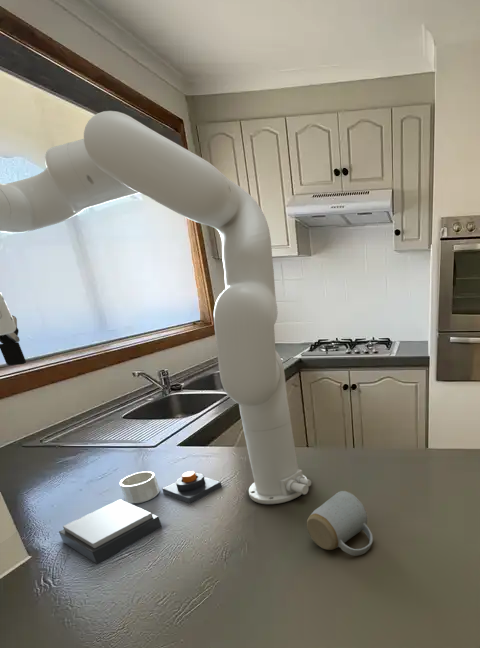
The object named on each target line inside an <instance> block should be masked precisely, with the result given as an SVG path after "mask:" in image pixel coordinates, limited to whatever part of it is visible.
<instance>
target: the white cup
mask: <svg viewBox="0 0 480 648" xmlns="http://www.w3.org/2000/svg"><path fill="white" fill-rule="evenodd" d="M119 486H120V490H121V492H122V495H123V498H124V501H126V502H128V503H130V504H141V503H142V504H143V503H145V502H148V501H150V500H152V499H154V498H155V497H157V495H158V494H159V493H160V491H161V490H160V487H159V484H158V481H157V477H156V474H155V472H153V471H149V470H148V471H146V470H145V471H139V472H135V473H131V474H129V475H127V476H125V477H124V478H122V479H121V480H120V481H119Z"/></svg>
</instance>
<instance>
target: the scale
mask: <svg viewBox="0 0 480 648" xmlns="http://www.w3.org/2000/svg"><path fill="white" fill-rule="evenodd" d="M62 528H63V529H61V530H59V531H58V534H59V535H60V538H61V540H62V542H63V544H65V545H66V546H68V547H70V548H72V549H73V550H74V551H76V552H78V553H79V554H81V555H83V556H84V557H85V558H87V559H89V560H90V561H92V562H93V563H94V564H96V565H97V564H100V563H102V562H103V561H105V560H107V559H108V558H110V557H112V556H114V555H116V554H117V553H119V552H121V551H123V550H124V549H126V548H128V547H129V546H132V545H133V544H135V543H137V542H139V541H140V540H142V539H144V538H146V537H147V536H149V535H151V534H153V533H154V532H156V531H158V530H159V529H161V528H162V523H161V520H160V516H158V515H156V514H153V513H152V512H150V511H148V510H146V509H143V508H142V507H139V506H137V505H135V504H133V503H128V502H126V501H125V500H123V499H121V498H119V499H117V500H115V501H113V502H110V503H109V504H107V505H104V506H102V507H100V508H97V509H96V510H93V511H92V512H90V513H88V514H85V515H83V516H81V517H78V518H77V519H75V520H73V521H70V522H67V524H64V525H62Z"/></svg>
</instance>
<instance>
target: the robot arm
mask: <svg viewBox="0 0 480 648" xmlns="http://www.w3.org/2000/svg"><path fill="white" fill-rule="evenodd" d="M44 161H45V166H46V168H45V169H44V170H43V171H42V172H40V173H38V174H36V175H33V176H31V177H26V178H23V179H20V180H16V181H12V182H7V183H2V182H0V232H1V233H7V234H8V233H9V234H22V233H27V232H32V231H36V230H41V229H44V228H46V227H51V226H54V225H57V224H60V223H62V222H65V221H68V220H69V219H72V218H73V217H76V216H77V215H79V214H81V213H82V212H83V211H85V210H87V209H89V208H93V207H96V206H101V205H104V204H106V203H109V202H110V203H111V202H114V201H117V200H120V199H124V198H128V197H132V196H135V195H138V194H141V195H143V196H145V198H149V199H150V200H152V201H153V202H156V203H157V204H159V205H161V206H163V207H166V208H168V209H169V210H171V211H173V212H175V213H177V214H179V215H180V216H182V217H184V218H186V219H187V220H190V221H193V222H195V223H198V224H201V225H205V226H209V227H211V228H214V229H215V230H216V231H218V233H219V235H220V239H221V256H222V265H223V273H224V274H223V275H224V287H225V288H224V289H223V291H222V292H221V293H219V295H218V297H217V299H216V301H215V304H214V309H213V327H214V335H215V336H214V337H215V345H216V353H217V354H216V355H217V362H218V364H217V365H218V371H219V378H220V382H221V383H220V384H221V386H222V388H223V391H224V392H225V393H226V395H227V396H228V397H229V398H230V400H232V401H233V402H235V403H236V404H238V408H239V414H240V420H241V425H242V429H243V434H244V439H245V444H246V449H247V454H248V458H249V463H250V468H251V472H252V477H253V481H254V482H252V484H251V485H250V486H249V488H248V495H249V498H250V499H251V500H252V501H253V502H256V503H258V504H260V505H261V504H262V505H279V504H283V503H288V502H290V501H292V500H294V499H296V498H298V497H300V496H301V495H307V494H308V492H309V487H311V486H312V480H311V479H309V478H307V476H306V475H304V474H303V469H300V468H299V463H298V458H297V451H296V445H295V440H294V438H295V437H294V431H293V426H292V420H291V412H290V406H289V399H288V393H287V383H286V375H285V368H284V363H283V360H282V358H281V355H280V354H279V352H278V351H277V350H276V337H275V336H276V334H275V324H276V322H277V320H278V312H279V311H278V305H277V296H276V284H275V271H274V269H275V268H274V262H273V261H274V260H273V250H272V240H271V232H270V227H269V223H268V221H267V218H266V216H265V213H264V211H263V210H262V208H261V207H260V205H259V204H258V202H257V201H256V199H255V198H254V197H253V196H252V195H251V194H250V193H249V192H247V191H246V190H245V189H244V188H243V187H242V186H240V185H239V184H237V183H236V182H234V181H233V180H232V179H230V178H228V177H227V176H226V175H225V174H224V173H223V172H221V171H220V170H219V169H218V168H217V167H216V166H214V165H213V164H211V162H209V161H208V160H206V159H205V158H203V157H201V156H199V155H198V154H197V153H196V154H195V153H194V152H192V151H190V150H189V149H187V148H185V147H183V146H181V145H180V144H178V143H176V142H174V141H173V140H171V139H169V138H168V137H166V136H164V135H162V134H160V133H159V132H157V131H155V130H153V129H152V128H149V126H147V125H145V124H143V123H142V122H140V121H138V120H137V119H135V118H133V117H132V116H130V115H129V114H126V113H124V112H120V111H115V110H105V111H101V112H98V113H96V114H95V115H92V116H91V118H90V119H89V120H87V122H86V124H85V127H84V130H83V138H81V139H78V140H74V141H71V142H67V143H63V144H60V145H56V146H52V147H50V148H48V149H47V150H46V152H45V154H44ZM17 319H18V318H17V317H16V316H15V315H12V313H11V310H10V309H9V307H8V304H7V302H6V300H5V298H4V296H3V294H2V292H1V291H0V352H1V354H2V356H3V359H4V361H5V364H6V365H7V366H16V365H18V366H19V365H24V364H27V360H26V357H25V355H24V353H23V350H22V348H21V345H20V337H19V328H18V320H17Z"/></svg>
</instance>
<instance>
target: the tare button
mask: <svg viewBox="0 0 480 648" xmlns="http://www.w3.org/2000/svg"><path fill="white" fill-rule="evenodd" d="M195 473H196V471H194V470H189V471H185V472H183V473H182V474H181V476H182V479H183V482H184V483H186V482H191V481H194V480H196V479H197V477H196V474H195Z"/></svg>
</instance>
